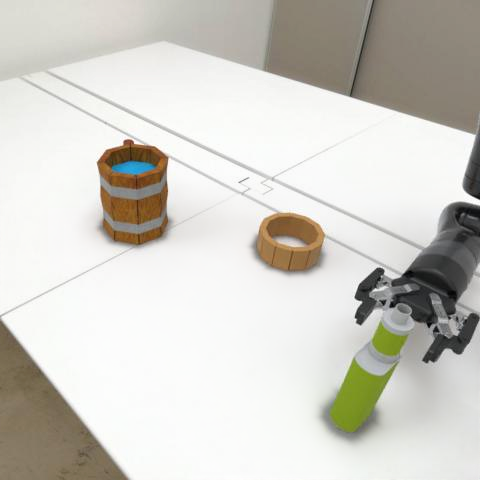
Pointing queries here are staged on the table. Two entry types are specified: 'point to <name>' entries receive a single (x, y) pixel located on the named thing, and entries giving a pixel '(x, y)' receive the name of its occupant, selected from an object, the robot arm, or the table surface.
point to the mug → (134, 192)
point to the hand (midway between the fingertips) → (392, 338)
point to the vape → (372, 370)
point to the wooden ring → (288, 255)
